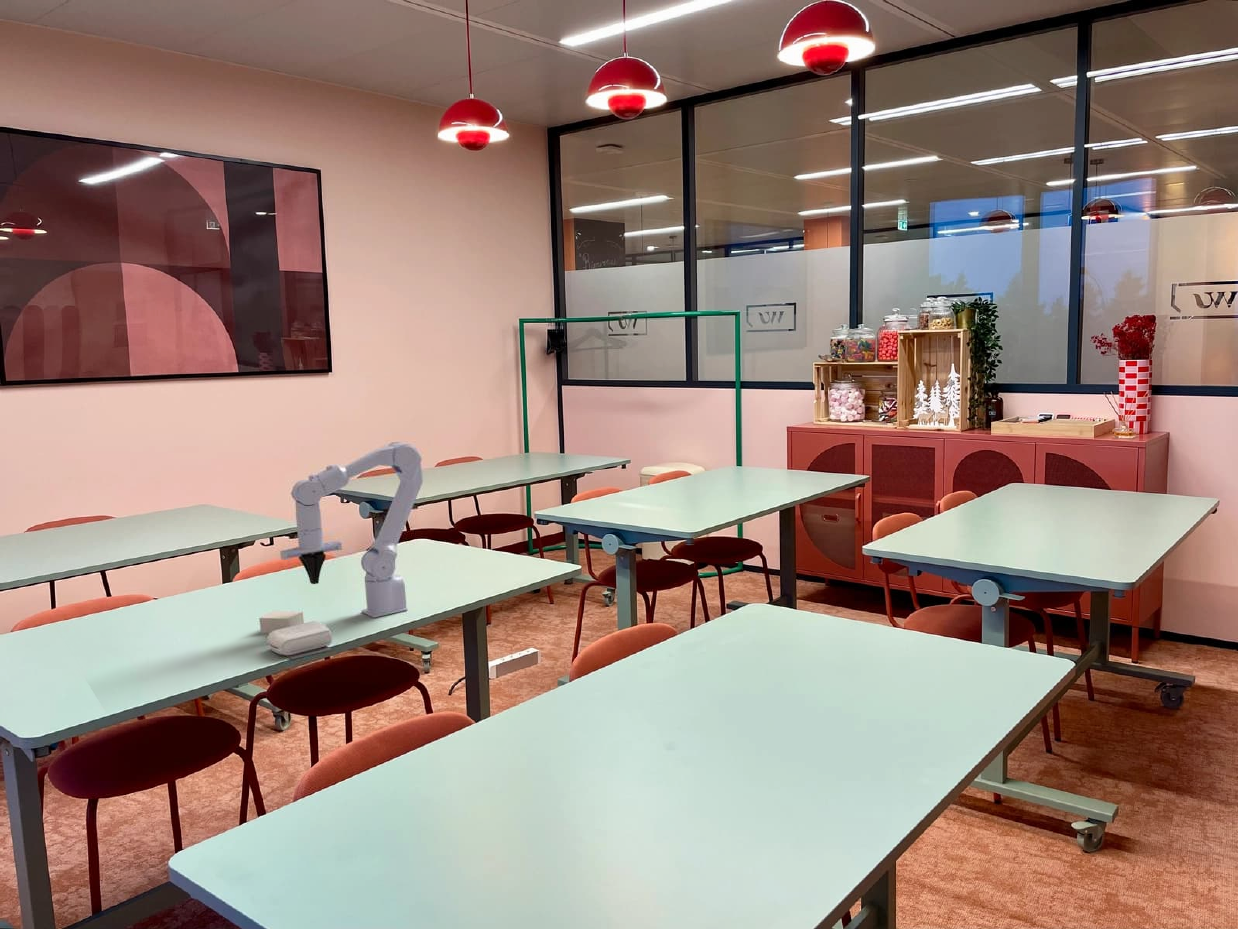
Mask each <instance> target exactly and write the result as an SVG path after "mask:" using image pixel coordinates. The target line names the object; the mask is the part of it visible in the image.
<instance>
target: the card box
mask: <svg viewBox="0 0 1238 929" xmlns="http://www.w3.org/2000/svg"><path fill="white" fill-rule="evenodd" d="M304 623H305V621H304V611H297V610H295V611H293V610H289V611H288V610H274V611H271V612H269V613H266V614H265V615H263V616H260V617H259V626H260V627H259V628H260V629H259V630H260V633H261V634H270V633H271V632H272V631H275V630H279V629H283V628H287V627H291V626H295V625H300V624H304Z"/></svg>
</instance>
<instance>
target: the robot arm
mask: <svg viewBox="0 0 1238 929" xmlns="http://www.w3.org/2000/svg"><path fill="white" fill-rule="evenodd" d="M422 459H423V457H422V456H421V454H420V452H419V450H418V449H417V448H416V447H415V446H414V445H412V444H410V443H402V442H399V441H393V442H390V443H389V444H388V445H387V444H386V445H383V446H380V447H378V448H376V449H374V450H372V451H370V452H369V453H366V454H365V455H363V456H360V457H359V458H357V459H356V460H354V461H351V462H350V463H348V464H346V465H344V466H341V465H338V464H335V465H331V464H329V465H326V467H325V469H324V470H322V471H321V472H319V473H317V474H314V475H313V474H310V475H308V477H307V478H308V479H301V480H298V481H297V482H296V483H295V484H294V485H293V487H292V491H291V492H290V494H291V497H292V499H293V500H294V502H295V510H296V511H295V519H296V531H297V539H298V540H297V542H298V546H297V547H292V548H289V549H285V550H280V553H279V554H280V559H281V560H283V561H285V560H289V559H293V558H298V559H299V561H300V562H301V564H302V566H303V568H304V569H305V571H306V573H307V576H308V579H309V583H310V584H312V585H316V584H319V581H320V575H321V571H322V567H323V564H324V562H325V560H326V557H327V556H326V554H325V553H327V552H333V551H342V550H343V547H342V546H343V545H342V542H341V541H331V542H324V538H323V527H322V512H321V509H320V501H321V499H322V497H326V496H329V495H331V494H332V493H335V492H336V491H338V490H341V489H343V488H344V487H346V486H348V484H349V481H350V480H351V478H354V477H356V476H358V475H360V474H362V473H365V472H367V471H369V470H372V469H374V468H376V467H378V466H381V467H382V466H385V467H387V466H388V467H391V468H392V469H393V470H394V471H395V473H396V475H397V477H398V479H399V481H400V482H399V484H398V487H397V490H396V491H395V493H394V494H395V495H394V496H393V499H392V502H391V504H390V506H389V509H388V511H387V514H386V516H385V518H384V520H383V524H382V526H381V528H380V531H379V532H378V536H377V538H375V540H374V541H373V542H372V543H371V544H370V548H368V550H367V551H366V552H365V553H364V554H363V555H362V558H361V561H360V565H361V567H362V569H363V571H364V572H365V576H364V585H365V586H364V588H365V599H366V600H365V601H366V608H364V609H361V612H362V613H363V614H365V615H368V616H369V617H371V618H378V617H383V616H387V615H390V614H396V613H400V612H404V611H408V610H409V608H408V607H407V599H406V598H407V597H406V596H407V595H406V594H407V593H406V586H405V581H404V578H403V577H402V576H401V575H400V574H394V573H395V570H396V559H397V556H398V548H397V545H398V544H399V541H400V538H401V536H402V534H403V531H404V528H405V526H406V524H407V522H408V520H409V519H408V518H409V516H410V514H411V512H412V509H413V507H414V504H415V502H416V499H417V496H418V495H419V492H420V490H421V487H422V484H423V481H424V480H423V471H422V464H421V463H422V461H423V460H422Z"/></svg>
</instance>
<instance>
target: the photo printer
mask: <svg viewBox="0 0 1238 929" xmlns="http://www.w3.org/2000/svg"><path fill="white" fill-rule="evenodd" d="M266 641H267V646H268V647H269V649H270V650H271V651H273V652H274V653H276V654H278V655H280V656H281V655H282V656H286V655H292V654H296V653H300V652H304V651H308V650H312V649H316V648H320V647H324V646H330V645H331V644H332V642H333V637H332V631H331V630H330V629H329V628H328V627H327V626H325V625H324V624H323V623H321V622H319V621H316V620H313V621H308V622H304V624H300V625H295V626H291V627H287V628H283V629H279V630H275V631H272V632H271V633H268V635H267V638H266Z"/></svg>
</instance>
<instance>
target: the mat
mask: <svg viewBox="0 0 1238 929" xmlns="http://www.w3.org/2000/svg"><path fill="white" fill-rule="evenodd" d="M330 651H333V649H332V648H330V647H329V645H327V646H324V647H320V648H316V649H312V650H308V651H304V652H300V653H296V654H292V655H285V656H286V657H288V658H289V659H290V660H292V661H293V660H297V659H300V658H305V657H309V656H314V655H317V654H321V653H326V652H330Z"/></svg>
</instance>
